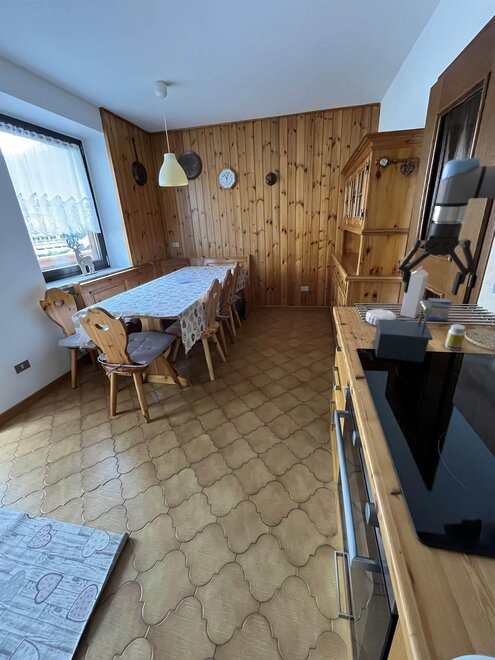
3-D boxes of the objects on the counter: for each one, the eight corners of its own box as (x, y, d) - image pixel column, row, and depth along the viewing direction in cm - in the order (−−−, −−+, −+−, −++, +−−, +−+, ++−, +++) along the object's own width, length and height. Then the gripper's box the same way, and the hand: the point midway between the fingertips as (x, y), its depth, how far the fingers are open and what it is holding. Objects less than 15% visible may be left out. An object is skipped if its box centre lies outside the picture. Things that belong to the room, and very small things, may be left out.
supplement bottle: (463, 350, 100) (470, 329, 97) (449, 350, 101) (456, 329, 97) (454, 343, 105) (461, 323, 101) (441, 344, 105) (447, 323, 101)
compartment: (416, 345, 105) (422, 324, 101) (422, 362, 95) (428, 340, 91) (374, 341, 110) (377, 320, 106) (376, 357, 100) (379, 335, 96)
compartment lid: (424, 324, 101) (431, 297, 96) (432, 340, 91) (440, 311, 86) (377, 320, 106) (382, 295, 101) (379, 335, 96) (384, 307, 91)
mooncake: (376, 328, 119) (377, 321, 117) (360, 317, 129) (361, 310, 127) (401, 324, 120) (403, 316, 119) (383, 313, 131) (385, 306, 129)
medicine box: (426, 319, 123) (430, 301, 119) (423, 315, 127) (428, 297, 123) (447, 321, 121) (452, 302, 117) (443, 316, 124) (449, 298, 120)
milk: (419, 314, 128) (431, 266, 118) (414, 318, 125) (425, 269, 114) (405, 310, 132) (415, 264, 122) (399, 315, 129) (409, 267, 118)
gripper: (494, 219, 79) (471, 290, 89) (396, 221, 87) (385, 286, 97) (506, 222, 73) (480, 299, 83) (399, 224, 81) (387, 294, 91)
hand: (428, 292), depth 90 cm, fingers open, 13 cm apart
